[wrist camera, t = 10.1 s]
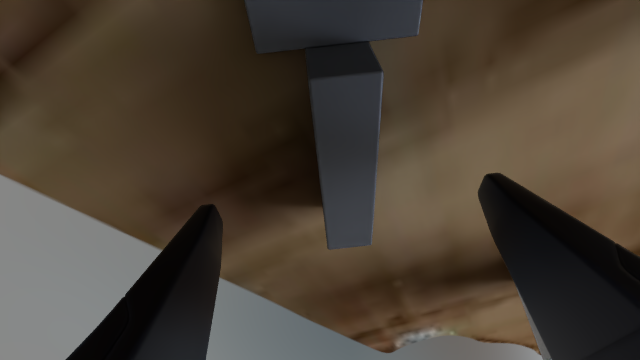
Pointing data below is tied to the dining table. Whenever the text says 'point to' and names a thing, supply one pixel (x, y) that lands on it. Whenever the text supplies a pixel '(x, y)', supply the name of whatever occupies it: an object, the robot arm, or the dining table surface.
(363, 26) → the spatula
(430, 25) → the dining table surface
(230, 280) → the dining table surface
